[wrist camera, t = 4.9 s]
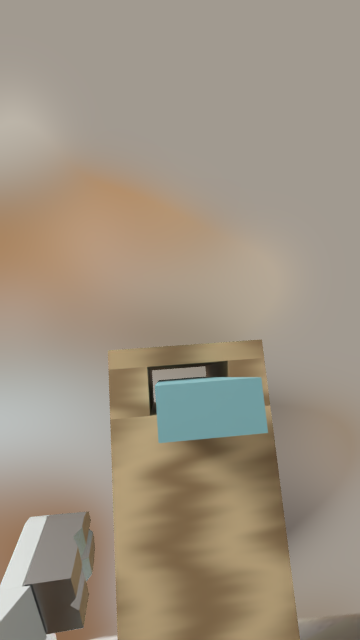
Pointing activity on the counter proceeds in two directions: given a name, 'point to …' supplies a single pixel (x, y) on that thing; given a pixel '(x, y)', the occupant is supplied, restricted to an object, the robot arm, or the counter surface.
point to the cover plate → (209, 408)
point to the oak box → (196, 511)
